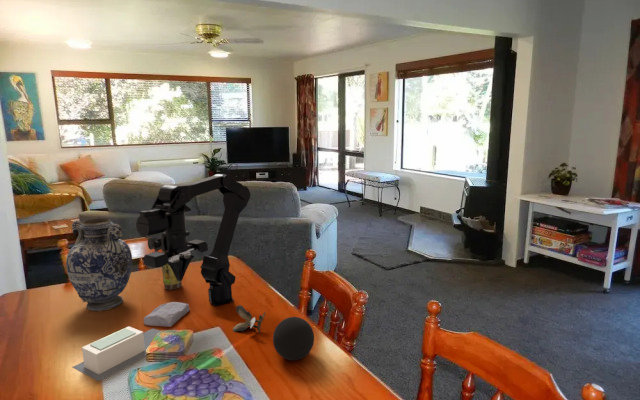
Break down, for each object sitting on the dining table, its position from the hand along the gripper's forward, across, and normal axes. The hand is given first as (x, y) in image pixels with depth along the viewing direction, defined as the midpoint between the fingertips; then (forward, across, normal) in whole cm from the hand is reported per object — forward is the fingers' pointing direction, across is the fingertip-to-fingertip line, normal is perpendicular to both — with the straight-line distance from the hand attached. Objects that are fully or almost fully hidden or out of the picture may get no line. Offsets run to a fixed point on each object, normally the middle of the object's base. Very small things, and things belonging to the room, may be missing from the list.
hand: (179, 280), depth 120 cm
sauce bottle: (+12, -16, -24) cm, 31 cm away
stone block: (+12, +2, -4) cm, 13 cm away
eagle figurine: (+12, -4, +21) cm, 25 cm away
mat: (+12, +20, +4) cm, 24 cm away
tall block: (+9, +18, +4) cm, 20 cm away
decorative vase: (+12, +5, -31) cm, 34 cm away
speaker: (+12, 0, +41) cm, 42 cm away
